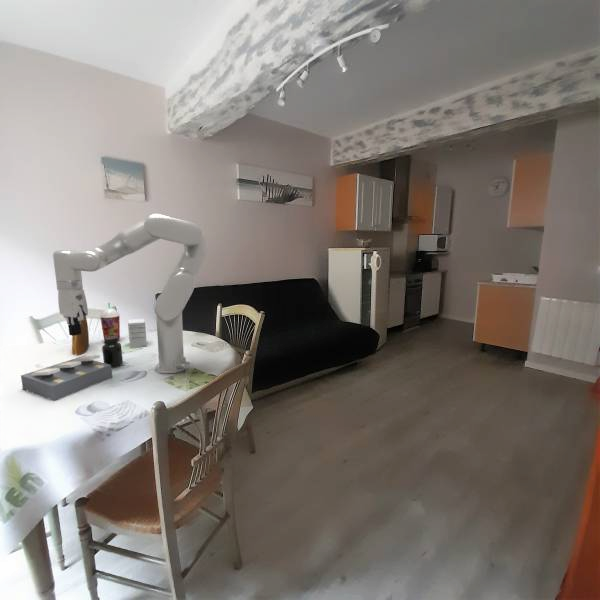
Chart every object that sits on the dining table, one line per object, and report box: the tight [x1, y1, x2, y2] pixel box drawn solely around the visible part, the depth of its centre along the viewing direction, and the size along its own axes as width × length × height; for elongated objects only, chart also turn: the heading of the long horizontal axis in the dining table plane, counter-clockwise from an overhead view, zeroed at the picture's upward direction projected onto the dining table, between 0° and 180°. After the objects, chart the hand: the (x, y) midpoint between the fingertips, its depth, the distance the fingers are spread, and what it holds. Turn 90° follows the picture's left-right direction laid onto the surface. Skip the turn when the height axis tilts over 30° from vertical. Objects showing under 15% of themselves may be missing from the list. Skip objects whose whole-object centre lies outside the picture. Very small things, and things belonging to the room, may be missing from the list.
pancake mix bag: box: [71, 315, 90, 356], centre depth 147 cm, size 7×19×28 cm, turn 25°
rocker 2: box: [53, 361, 81, 368], centre depth 115 cm, size 10×4×1 cm, turn 66°
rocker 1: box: [31, 367, 60, 376], centre depth 109 cm, size 10×4×1 cm, turn 66°
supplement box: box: [127, 318, 148, 349], centre depth 156 cm, size 7×7×13 cm
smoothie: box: [99, 302, 121, 342], centre depth 160 cm, size 8×8×20 cm
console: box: [20, 358, 113, 401], centre depth 116 cm, size 18×20×6 cm
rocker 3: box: [73, 354, 101, 362], centre depth 122 cm, size 10×4×1 cm, turn 66°
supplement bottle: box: [101, 336, 124, 369], centre depth 132 cm, size 7×7×12 cm
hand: (75, 334), depth 118 cm, fingers closed
